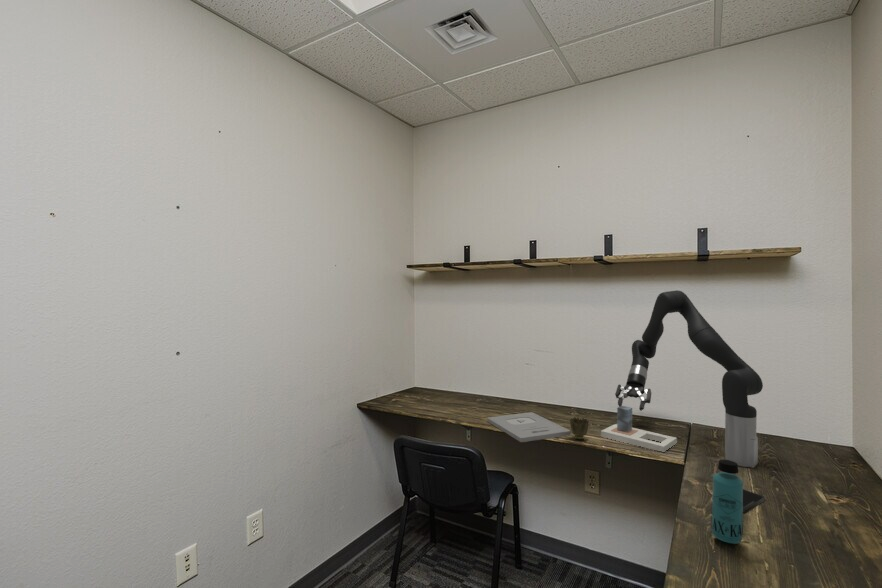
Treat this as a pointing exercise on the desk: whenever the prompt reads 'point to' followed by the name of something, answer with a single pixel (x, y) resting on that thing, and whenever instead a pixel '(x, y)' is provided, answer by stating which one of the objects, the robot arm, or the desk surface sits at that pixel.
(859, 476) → the desk surface
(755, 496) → the phone
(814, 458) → the desk surface
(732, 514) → the beverage bottle
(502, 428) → the award plaque
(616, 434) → the puzzle board
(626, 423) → the blue block
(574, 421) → the dark brown textured piece
